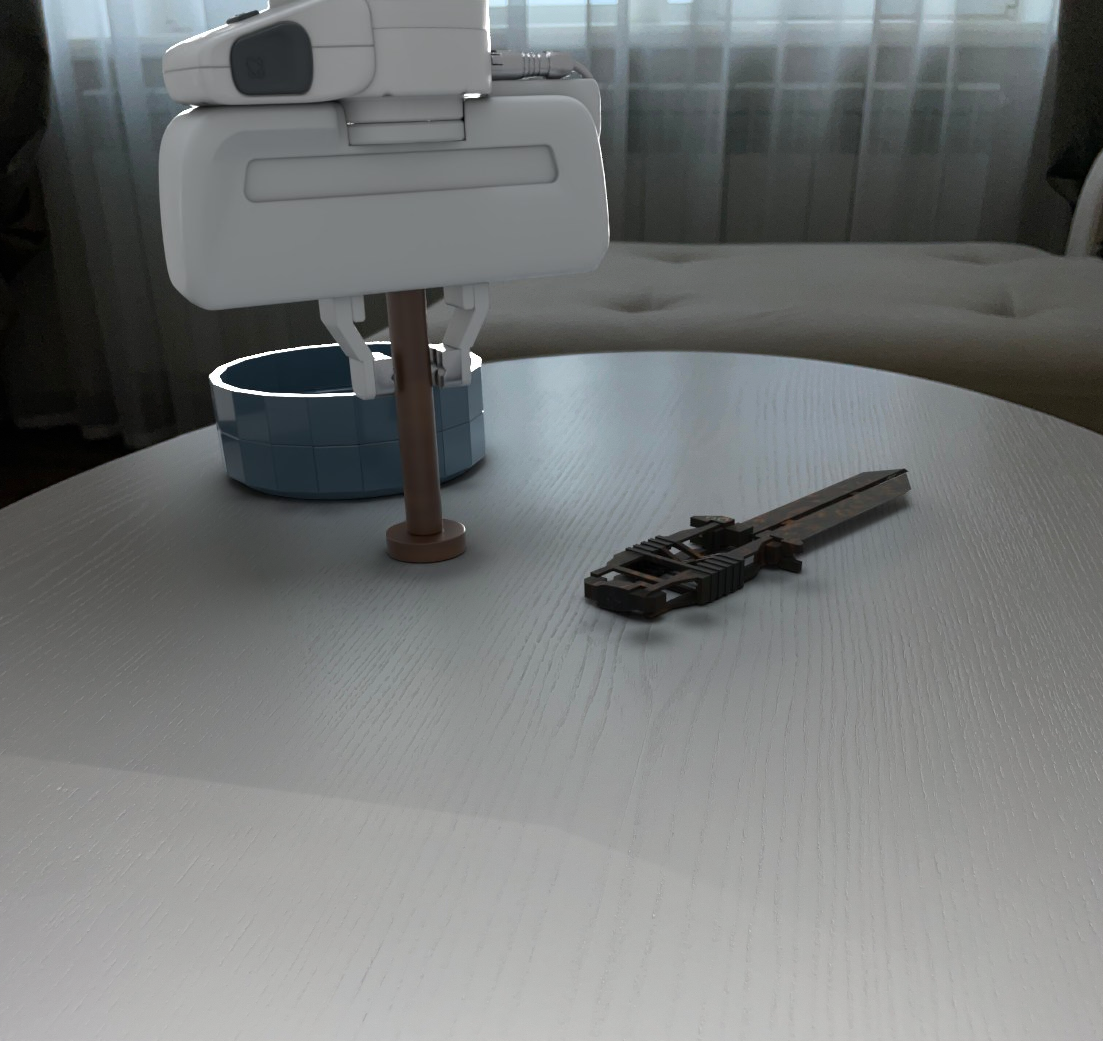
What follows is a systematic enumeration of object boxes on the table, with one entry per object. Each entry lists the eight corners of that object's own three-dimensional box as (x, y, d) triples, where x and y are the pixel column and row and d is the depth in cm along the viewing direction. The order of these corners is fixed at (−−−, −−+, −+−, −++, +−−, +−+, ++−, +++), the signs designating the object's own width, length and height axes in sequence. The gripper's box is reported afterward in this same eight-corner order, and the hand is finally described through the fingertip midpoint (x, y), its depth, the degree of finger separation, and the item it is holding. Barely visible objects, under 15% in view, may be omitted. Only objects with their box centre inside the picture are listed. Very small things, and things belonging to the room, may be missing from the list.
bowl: (174, 495, 68) (155, 391, 65) (299, 427, 81) (288, 339, 78) (432, 511, 64) (423, 401, 61) (518, 437, 77) (514, 344, 74)
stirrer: (374, 559, 57) (336, 205, 49) (405, 534, 60) (374, 198, 53) (450, 565, 56) (424, 205, 48) (477, 538, 59) (456, 197, 52)
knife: (884, 478, 67) (886, 454, 66) (983, 501, 63) (987, 476, 62) (553, 589, 53) (552, 560, 52) (652, 629, 49) (652, 598, 48)
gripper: (563, 52, 55) (569, 354, 61) (120, 57, 46) (183, 407, 53) (636, 45, 50) (634, 374, 56) (155, 48, 41) (220, 435, 48)
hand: (413, 390), depth 54 cm, fingers closed
